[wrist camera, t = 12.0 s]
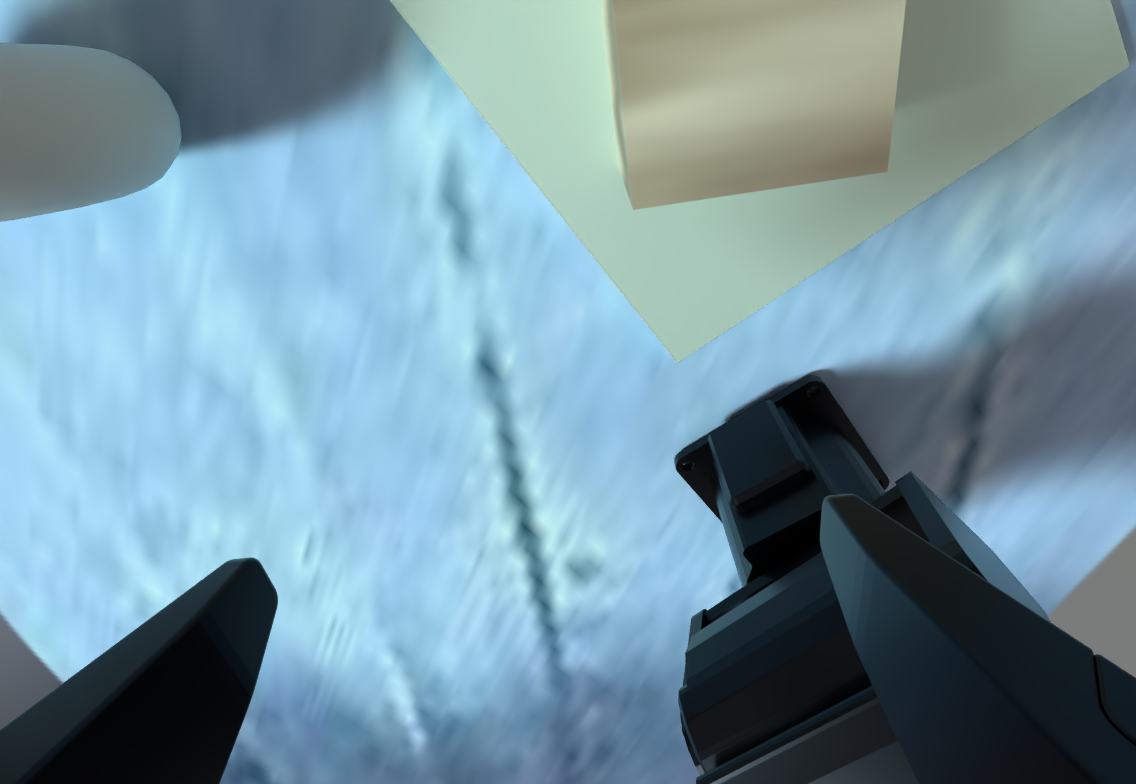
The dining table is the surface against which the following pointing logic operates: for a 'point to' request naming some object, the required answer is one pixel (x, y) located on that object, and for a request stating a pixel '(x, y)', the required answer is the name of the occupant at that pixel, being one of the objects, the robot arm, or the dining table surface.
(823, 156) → the maple block
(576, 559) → the dining table surface
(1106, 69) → the sage board
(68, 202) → the donut
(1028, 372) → the dining table surface
